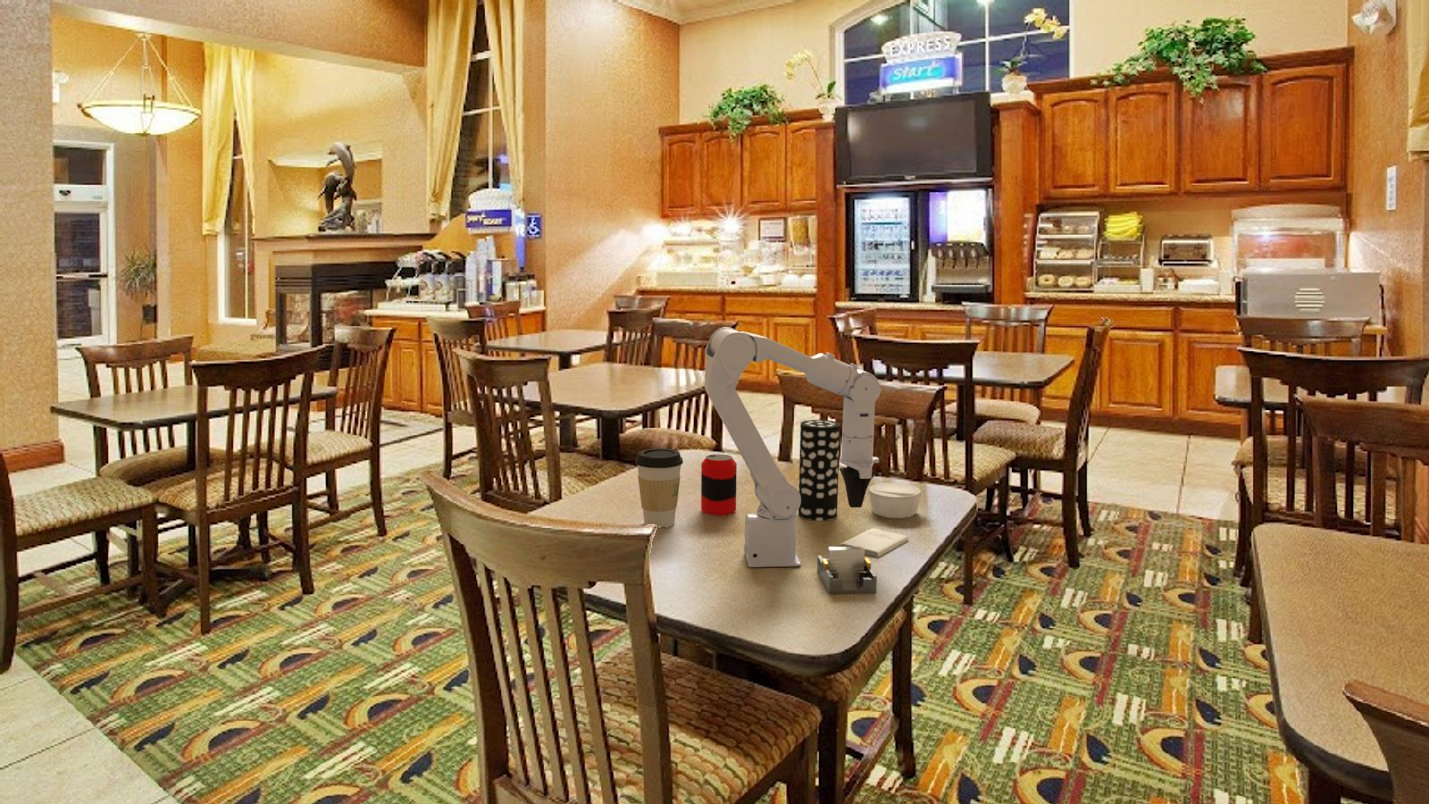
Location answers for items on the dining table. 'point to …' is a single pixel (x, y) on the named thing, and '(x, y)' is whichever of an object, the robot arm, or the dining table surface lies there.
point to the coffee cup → (659, 484)
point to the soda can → (718, 485)
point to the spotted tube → (819, 469)
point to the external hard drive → (876, 541)
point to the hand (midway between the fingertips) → (855, 506)
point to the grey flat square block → (846, 561)
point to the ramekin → (894, 499)
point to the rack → (839, 586)
